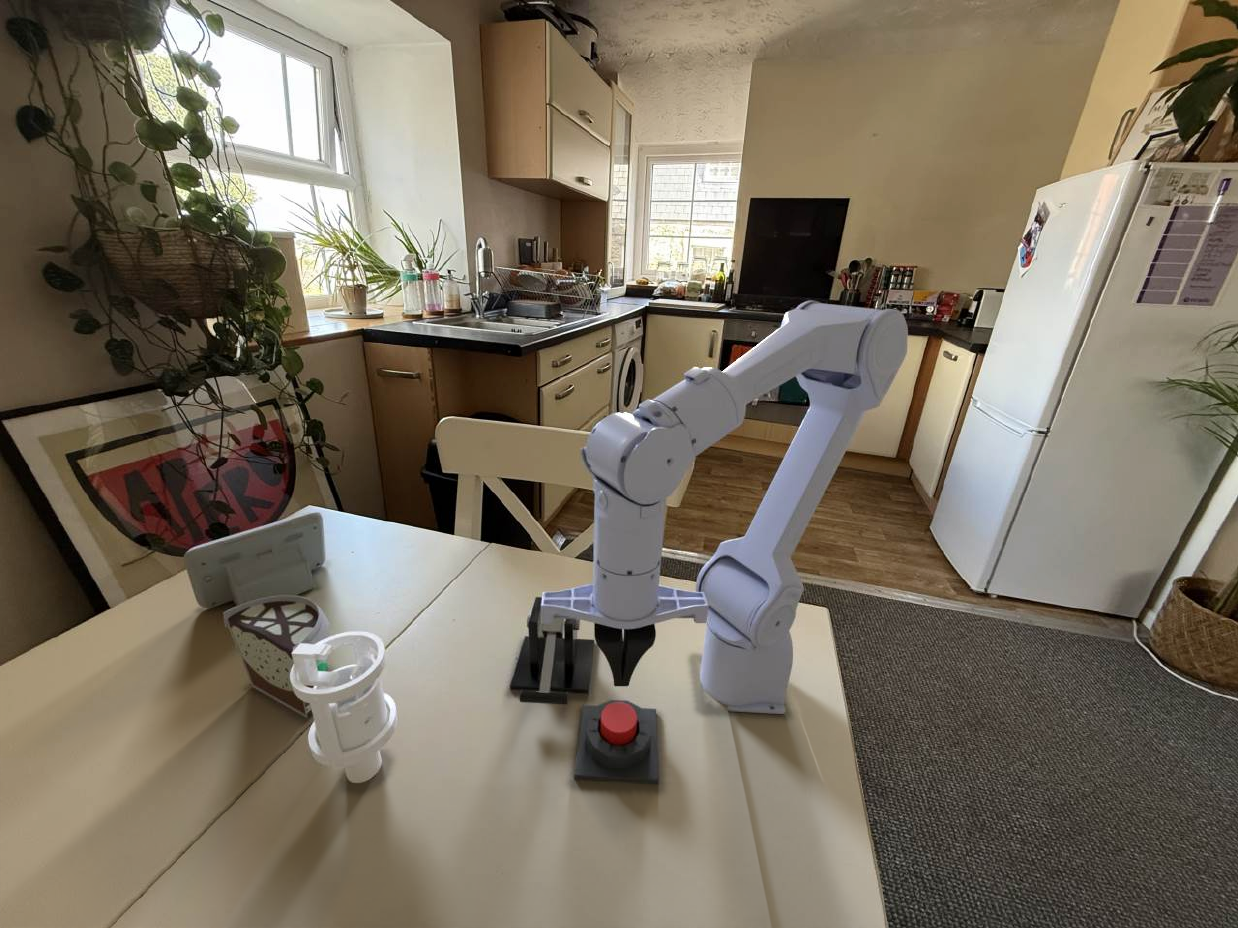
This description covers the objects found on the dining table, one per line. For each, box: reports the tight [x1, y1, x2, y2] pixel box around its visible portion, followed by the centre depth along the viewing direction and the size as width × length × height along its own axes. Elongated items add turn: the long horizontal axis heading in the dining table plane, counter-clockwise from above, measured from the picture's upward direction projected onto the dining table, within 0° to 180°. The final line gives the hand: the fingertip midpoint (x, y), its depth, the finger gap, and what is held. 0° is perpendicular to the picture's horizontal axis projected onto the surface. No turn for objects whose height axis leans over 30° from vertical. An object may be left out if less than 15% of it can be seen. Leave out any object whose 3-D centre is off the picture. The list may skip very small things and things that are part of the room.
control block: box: [573, 699, 660, 785], centre depth 50 cm, size 8×8×3 cm
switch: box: [519, 619, 569, 706], centre depth 55 cm, size 10×5×2 cm
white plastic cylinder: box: [290, 630, 398, 784], centre depth 44 cm, size 7×7×15 cm
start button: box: [601, 702, 637, 746], centre depth 49 cm, size 4×4×2 cm
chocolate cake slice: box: [222, 595, 330, 719], centre depth 55 cm, size 12×6×10 cm, turn 65°
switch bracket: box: [509, 596, 595, 695], centre depth 58 cm, size 8×9×9 cm
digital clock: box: [183, 511, 327, 609], centre depth 69 cm, size 16×9×11 cm, turn 127°
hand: (620, 677), depth 47 cm, fingers closed
